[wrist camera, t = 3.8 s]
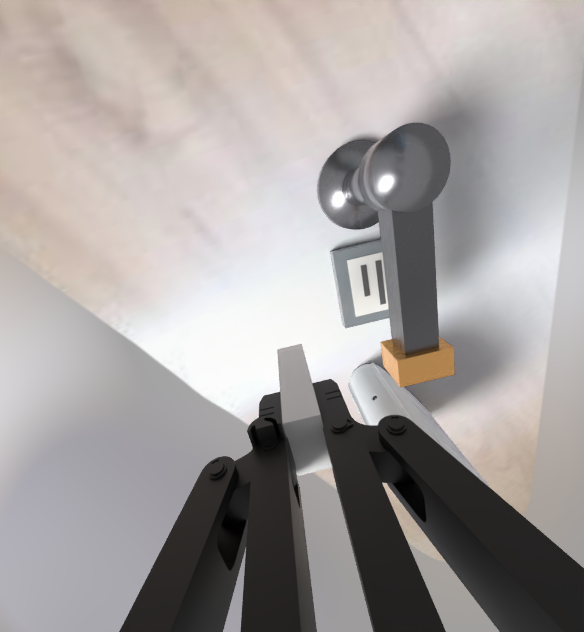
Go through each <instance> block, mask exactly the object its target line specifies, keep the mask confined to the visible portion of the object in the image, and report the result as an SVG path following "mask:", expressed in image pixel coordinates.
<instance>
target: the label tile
mask: <svg viewBox="0 0 584 632" xmlns="http://www.w3.org/2000/svg"><path fill="white" fill-rule="evenodd" d="M330 254H331V260H332V266H333V272H334V277H335V283H336V289H337V295H338V300H339V306H340V312H341V318H342V323H343V326H344V327H345V328H349V327H353V326H357V325H361V324H365V323H369V322H374V321H378V320H382V319H386V318H390V317H389V308H388V299H387V289H386V280H385V271H384V262H383V253H382V244H381V239H380V240H376V241H372V242H367V243H363V244H359V245H355V246H351V247H347V248H342V249H338V250H334V251H330Z"/></svg>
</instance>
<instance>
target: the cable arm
mask: <svg viewBox="0 0 584 632" xmlns="http://www.w3.org/2000/svg"><path fill="white" fill-rule="evenodd" d="M449 171H450V152H449V148H448V145H447V143H446V141H445V139H444V138H443V136H442V135H441V134H440V133H439V132H438V131H437V130H436V129H435V128H433V127H431V126H429V125H427V124H423V123H410V124H406V125H403V126H401V127H399V128H397V129H395V130H394V131H392V132H391V133H390V134H388V135H387V136H385V137H384V138H382V139H381V140H379V141H378V142H377V143H375V144H374V145H373V146H372V147H371V148H370V149H369V150H368V151H367V152H366V154H365V155H364V157H363V159H362V161H361V164H360V167H359V171H358V186H359V190H360V194H361V196H362V198H363V199H364V201H365V202H366V203H367V204H368V205H369V206H370V207H371V208H373V209H374V210H376V211H378V217H379V226H380V235H381V244H382V253H383V262H384V271H385V280H386V289H387V299H388V308H389V317H390V326H391V335H392V339H391V340H387V341H382V342H381V350H382V358H383V366H384V367H385V369H386V370H387V371H388V372H389V374H390V375H391V376H392V378H393V379H394V380H395V382H396V383H397V384H398V385H399V387H405V386H409V385H413V384H417V383H421V382H426V381H430V380H434V379H438V378H442V377H447V376H451V375H455V372H454V347H453V346H451V345H450V344H448V343H447V342H446V341H444V340H443V339H441V338H440V337H439V333H438V311H437V290H436V268H435V246H434V225H433V203H432V202H433V201H434V200H435V199H436V198H437V196H438V195H439V194H440V193H441V191H442V190H443V188H444V186H445V184H446V181H447V179H448V175H449Z"/></svg>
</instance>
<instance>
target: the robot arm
mask: <svg viewBox="0 0 584 632" xmlns="http://www.w3.org/2000/svg"><path fill="white" fill-rule="evenodd" d="M278 365H279V380H280V392H277V393H273V394H269V395H265V396H263V398H262V400H261V401H260V403H259V418H257V419H256V420H255V421H253V422H252V423H251V424H250V426H249V427H248V430H247V432H248V435H249V438H250V440H251V443H252V446H253V450H252V451H251V452H249V453H248V454H247V455H245V456H244V457H242V458H240V459H238V460H236V461H234V460H233V459H232V458H230V457H226V456H223V457H218V458H216V459H214V460H212V461H211V462H210V463H208V464H207V465H206V466H205V468H204V469H203V470H202V472H201V474H200V476H199V477H198V479H197V481H196V483H195V486H194V487H193V489H192V491H191V493H190V495H189V497H188V499H187V501H186V503H185V505H184V507H183V509H182V511H181V513H180V515H179V516H178V519H177V520H176V522H175V524H174V526H173V528H172V530H171V532H170V534H169V536H168V538H167V540H166V542H165V544H164V546H163V548H162V550H161V552H160V553H159V555H158V557H157V559H156V561H155V563H154V565H153V568H152V569H151V571H150V573H149V575H148V577H147V579H146V581H145V583H144V585H143V587H142V589H141V590H140V592H139V594H138V596H137V598H136V600H135V602H134V604H133V606H132V608H131V610H130V612H129V614H128V616H127V618H126V620H125V622H124V624H123V626H122V628H121V630H120V631H119V632H223V629H224V625H225V621H226V618H227V614H228V610H229V607H230V603H231V599H232V596H233V592H234V588H235V585H236V581H237V577H238V573H239V570H240V566H241V563H242V559H243V555H244V552H245V548H246V559H245V576H244V591H243V605H242V620H241V632H317V629H316V622H315V612H314V604H313V596H312V587H311V579H310V570H309V562H308V554H307V546H306V537H305V529H304V520H303V512H302V503H301V495H300V487H299V484H298V481H297V475H298V476H299V475H303V474H307V473H312V472H316V471H320V470H324V469H328V468H332V469H333V474H334V478H335V482H336V486H337V491H338V494H339V498H340V502H341V505H342V510H343V514H344V517H345V522H346V525H347V529H348V533H349V537H350V541H351V545H352V548H353V553H354V557H355V561H356V565H357V569H358V573H359V577H360V581H361V585H362V589H363V593H364V596H365V601H366V604H367V608H368V612H369V616H370V620H371V624H372V628H373V632H446V631H445V629H444V627H443V624H442V622H441V619H440V617H439V615H438V613H437V610H436V608H435V605H434V603H433V601H432V598H431V596H430V594H429V591H428V589H427V587H426V585H425V582H424V580H423V578H422V576H421V573H420V571H419V568H418V566H417V563H416V561H415V559H414V557H413V554H412V552H411V549H410V547H409V545H408V542H407V540H406V538H405V535H404V533H403V531H402V528H401V526H400V524H399V521H398V519H397V517H396V514H395V512H394V510H393V507H392V505H391V503H390V501H389V498H388V496H387V494H386V491H385V489H384V487H383V484H382V483H387V484H388V486H389V487H390V489H391V490H392V491H393V493H394V494H395V495H396V497H397V498H398V499H399V501H400V502H401V503H402V504H403V506H404V507H405V508H406V510H407V511H408V512H409V514H410V515H411V516H412V518H413V519H414V520H415V521H416V523H417V524H418V525H419V527H420V528H421V529H422V531H423V532H424V533H425V535H426V536H427V537H428V538H429V540H430V541H431V542H432V544H433V545H434V546H435V548H436V549H437V550H438V552H439V553H440V554H441V555H442V557H443V558H444V559H445V561H446V562H447V563H448V564H449V566H450V567H451V568H452V570H453V571H454V572H455V574H456V575H457V576H458V578H459V579H460V580H461V582H462V583H463V584H464V586H465V587H466V588H467V589H468V591H469V592H470V593H471V595H472V596H473V597H474V599H475V600H476V601H477V603H478V604H479V605H480V606H481V608H482V609H483V610H484V612H485V613H486V614H487V615H488V617H489V618H490V619H491V621H492V622H493V623H494V625H495V626H496V627H497V629H498V630H499V631H500V632H584V568H583V567H581V566H580V565H579V564H578V563H577V562H576V561H575V560H573V559H572V558H571V557H570V556H569V555H567V554H566V553H565V552H564V551H563V550H562V549H561V548H559V547H558V546H557V545H556V544H555V543H553V542H552V541H551V540H550V539H549V538H548V537H547V536H545V535H544V534H543V533H542V532H541V531H540V530H538V529H537V528H536V527H535V526H534V525H532V524H531V523H530V522H529V521H528V520H527V519H526V518H524V517H523V516H522V515H521V514H520V513H519V512H517V511H516V510H515V509H514V508H513V507H512V506H510V505H509V504H508V503H507V502H506V501H505V500H503V499H502V498H501V497H500V496H499V495H498V494H496V493H495V492H494V491H493V490H492V489H491V488H489V487H488V486H487V485H486V484H485V483H484V482H482V481H481V480H480V479H479V478H478V477H477V476H475V475H474V474H473V473H472V472H471V471H470V470H469V469H467V468H466V467H465V466H464V465H463V464H462V463H460V462H459V461H458V460H457V459H456V458H455V457H453V456H452V455H451V454H450V453H449V452H448V451H446V450H445V449H444V448H443V447H442V446H441V445H439V444H438V443H437V442H436V441H435V440H434V439H432V438H431V437H430V436H429V435H428V434H427V433H425V432H424V431H423V430H422V429H421V428H420V427H418V426H417V425H416V424H415V423H414V422H413V421H411V420H410V419H408V418H407V417H405V416H401V415H389V416H385V417H384V418H382V419H381V420H380V421H379V423H378V425H363V424H360V423H358V422H356V421H355V420H354V419H353V418H352V417H351V415H350V413H349V411H348V408H347V406H346V404H345V401H344V399H343V396H342V394H341V392H340V389H339V387H338V385H337V383H336V382H334V381H333V380H332V379H329V380H324V381H320V382H316V383H312V381H311V377H310V373H309V370H308V366H307V362H306V358H305V355H304V351H303V347H302V344H299V345H295V346H290V347H286V348H282V349H278ZM296 472H297V474H296Z"/></svg>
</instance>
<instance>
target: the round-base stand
mask: <svg viewBox="0 0 584 632" xmlns="http://www.w3.org/2000/svg"><path fill="white" fill-rule="evenodd" d="M374 144H375V143H374V142H371V141H366V140H358V141H353V142H349V143H347V144H345V145H343V146H341V147H340V148H338V149H337V150H336V151H335V152H334V153H333V154H332V155H331V156H330V157H329V158H328V159H327V161H326V162H325V164H324V165H323V167H322V169H321V172H320V175H319V179H318V185H317V192H318V199H319V203H320V206H321V208H322V210H323V212H324V213H325V215H326V216H327V217H328V218H329V219H330V220H331V221H332V222H333V223H335V224H336V225H338V226H340V227H343V228H347V229H365V228H368V227H371V226H373V225H375V224H376V223H378V222H379V217H378V211H376V210H374V209H373V208H371V207H370V206H369V205H368V204H367V203H366V202H365V201H364V199H363V198H362V196H361V194H360V190H359V186H358V171H359V167H360V164H361V161H362V159H363V157H364V155H365V154H366V152H367V151H368V150H369V149H370V148H371V147H372V146H373V145H374Z"/></svg>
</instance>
